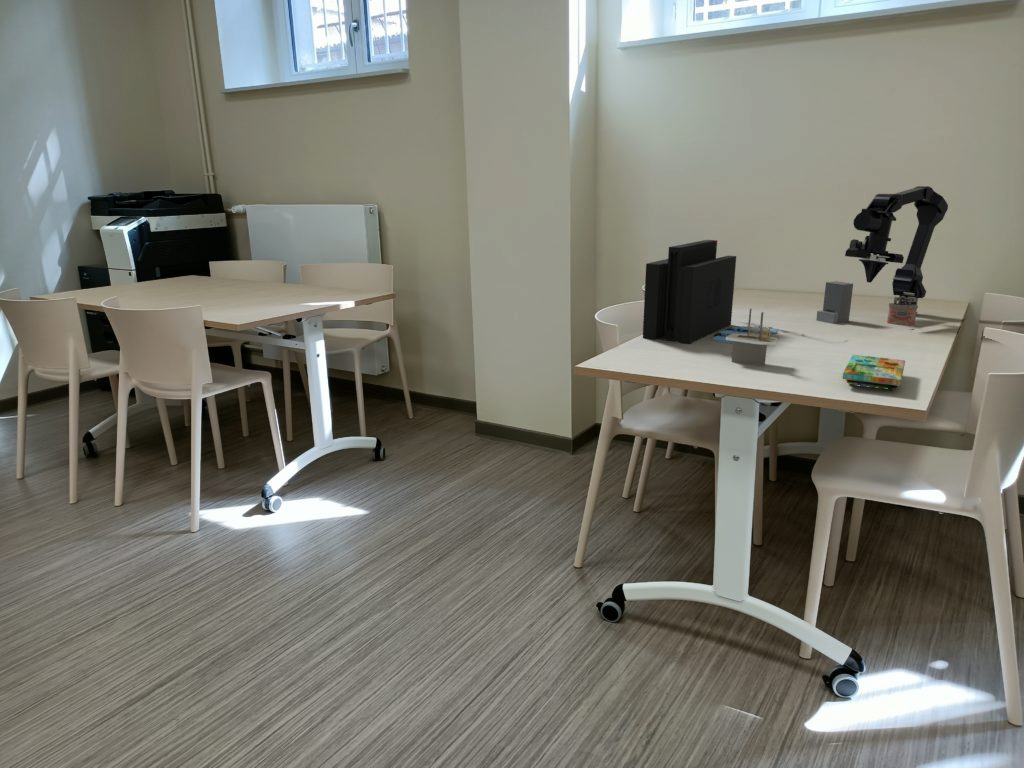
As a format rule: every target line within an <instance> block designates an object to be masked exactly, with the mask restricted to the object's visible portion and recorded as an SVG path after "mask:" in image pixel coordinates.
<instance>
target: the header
mask: <svg viewBox="0 0 1024 768" xmlns="http://www.w3.org/2000/svg"><path fill="white" fill-rule="evenodd" d="M838 315H839V314H838V313H833V312H827V311H823V309H822V310H817V311H816V317H815V318H816V319H815V320H816V322H817V321H818V322H822V323H826V324H832V325H836V324H839V323H838Z"/></svg>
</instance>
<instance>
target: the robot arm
mask: <svg viewBox="0 0 1024 768" xmlns="http://www.w3.org/2000/svg"><path fill="white" fill-rule="evenodd" d="M912 203H913V206H914V207H915V208H916V210H917V211H916V218H917V221H918V225H917V228H916V231H915V234H914V237H913V239H912V243H911V245H910V248H909V251H908V255H907V257H906V261H905V264H904V265H903V266H902V267H900V268H899V267H897V268H896V270H895V272H894V275H893V278H892V284H891V285H892V294H893V296H898V297H901V296H905V298H908V297H914V298H916V302H911V304H912V305H918V301H919V299H923V298H925V296H926V294H927V289H926V288H925V286H924V284H923V279H924V276H923V275H924V274H923V273H922V265H923V263H924V259H925V257H926V254H927V250H928V248H929V244H930V242H931V239H932V236H933V233H934V231H935V227H936V226H937V225H939V223H941V221H943V220H944V217H945V215H946V213H947V212H948V209H949V204H948V202H947V201H946V200H945V198H944V197H943V196H942V195H941V194H939V193H938V192H936V191H934V189H933V187H931V186H929V185H928V186H923V185H922V186H921V185H918V186H915V187H913V188H910V189H906V190H903V191H899V192H896V193H877V194H875V196H874V197H873V199H872V200H871V201H870V203H869V204H868V206H867V207H866V208H862V209H861V211H860V212H859V213H858V214H856V216H855V218H854V219H853V226H854V229H856V230H857V231H859V232H868V233H869V235H866V236H865V237H864V240H863V241H861V240H860V241H859V239H854V238H853V239H851V240H850V242H849V247H848V248H847V249H846V250H845V253H844V256H845V257H849V258H858V261H859V262H860V263H862V265H863V268H864V273H865V280H866V283H872V282H873V281H874V280H875V278H876V277H877V275H878V274H879V273H880V272H881V271H882V269H883V268H884V267H885V266H886V265H889V263H896V264H897V263H898V264H903V263H904V259H905V257H904V255H903V254H900V253H894V252H892V253H891V252H889V251H888V250H887V246H888V243H889V242H891V241H892V238H891V237H890V233H891V228H892V223H893V222H896V221H897V217H896V216H895V215H894V213H896V212H898V211H899V210H901V209H902V207H903V206H906V205H908V204H912ZM908 302H909V301H906V304H908ZM917 314H918V311H916V317H917V316H918V315H917Z"/></svg>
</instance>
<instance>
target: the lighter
mask: <svg viewBox="0 0 1024 768" xmlns="http://www.w3.org/2000/svg"><path fill="white" fill-rule="evenodd" d="M906 301H909V302H908V304H906ZM911 302H916V298H914V297H908V298H905V296H901V297H899V296H894V297H893V302H890V303H889V302H888V303H889V304H888V314H887V320H886V323H887V324H890V325H891V324H892V325H902V326H915V325H916V318H917V316H916V312H918V311H917V309H918V307H919V306H918V304H917V305H912V304H911ZM914 330H915V328H911V329H909V331H914Z"/></svg>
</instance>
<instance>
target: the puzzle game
mask: <svg viewBox="0 0 1024 768" xmlns="http://www.w3.org/2000/svg"><path fill="white" fill-rule="evenodd" d="M905 365H906V361H905V359H897V358H888V357H882V356H881V357H877V356H872V355H871V356H870V355H859V354H857V355H856V354H852V355H851V357H850V359H849V361H848V363H847V365H846V366H845V369H844V371H843V373H842V377H841V378H842V380H845V381H846V383H847V384H848V385H849V384H852V385H851V386H854V385H860V386H859V387H862V386H869V387H868V388H871V387H878V388H877V389H879V388H888V389H894V390H896V389H897V388H898V387H899V386H901V383H902V378H903V374H904V370H905Z"/></svg>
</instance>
